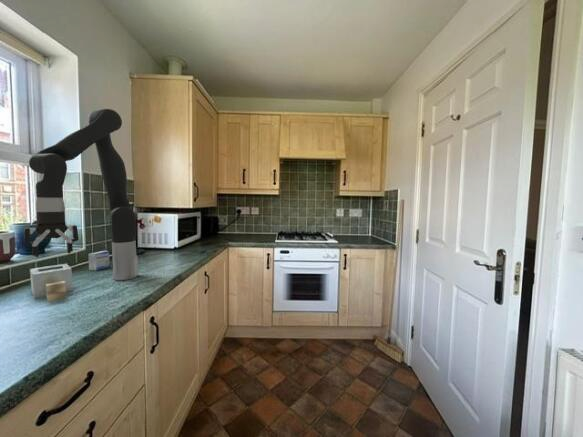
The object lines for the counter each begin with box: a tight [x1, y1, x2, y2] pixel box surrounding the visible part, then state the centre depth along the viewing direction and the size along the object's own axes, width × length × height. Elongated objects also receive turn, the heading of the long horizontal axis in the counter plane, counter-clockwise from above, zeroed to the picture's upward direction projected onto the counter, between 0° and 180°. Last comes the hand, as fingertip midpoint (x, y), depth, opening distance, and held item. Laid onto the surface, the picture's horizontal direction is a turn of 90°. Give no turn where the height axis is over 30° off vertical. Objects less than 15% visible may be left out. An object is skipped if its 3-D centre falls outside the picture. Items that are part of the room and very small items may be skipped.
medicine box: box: [87, 250, 110, 271], centre depth 133 cm, size 8×4×9 cm, turn 168°
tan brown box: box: [46, 281, 67, 303], centre depth 94 cm, size 5×3×6 cm, turn 139°
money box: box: [29, 263, 74, 299], centre depth 102 cm, size 11×11×9 cm
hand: (53, 254), depth 93 cm, fingers open, 8 cm apart
